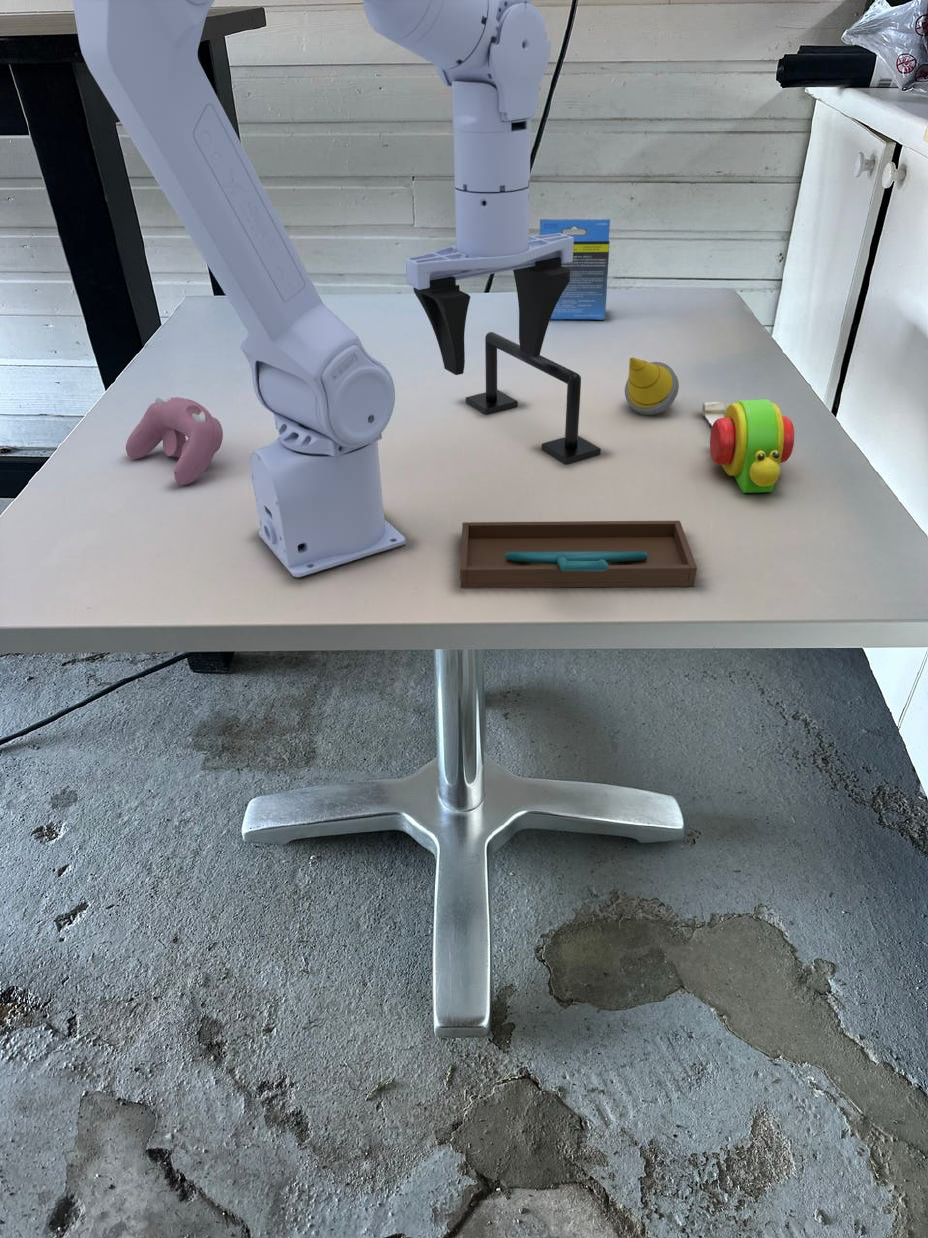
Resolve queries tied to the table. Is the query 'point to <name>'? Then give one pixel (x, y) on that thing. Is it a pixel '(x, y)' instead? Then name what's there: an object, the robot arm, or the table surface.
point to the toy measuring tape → (750, 441)
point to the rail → (495, 401)
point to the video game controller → (178, 436)
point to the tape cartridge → (583, 268)
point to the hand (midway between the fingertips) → (492, 362)
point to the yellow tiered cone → (650, 386)
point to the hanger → (578, 559)
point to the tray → (495, 539)
